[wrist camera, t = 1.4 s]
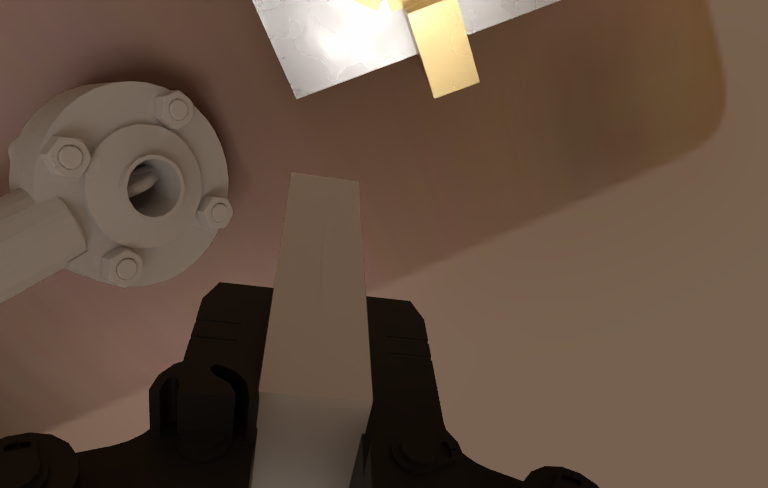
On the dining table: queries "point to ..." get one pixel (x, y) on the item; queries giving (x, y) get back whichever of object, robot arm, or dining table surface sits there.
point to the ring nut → (437, 42)
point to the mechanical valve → (112, 188)
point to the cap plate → (356, 35)
